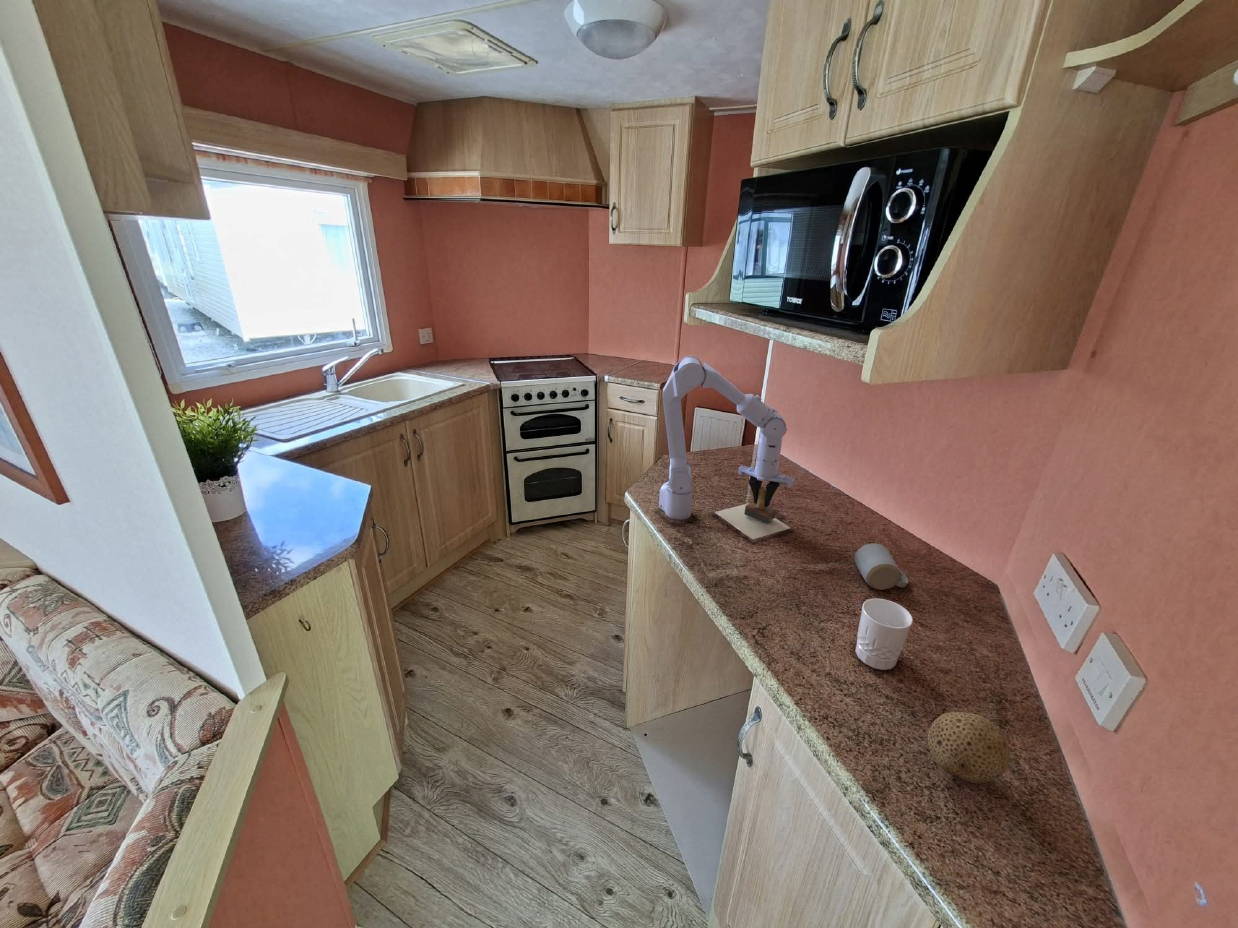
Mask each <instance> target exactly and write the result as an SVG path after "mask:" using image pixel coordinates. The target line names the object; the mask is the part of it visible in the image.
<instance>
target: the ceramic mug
mask: <svg viewBox="0 0 1238 928" xmlns="http://www.w3.org/2000/svg"><path fill="white" fill-rule="evenodd" d="M853 560H854V564H855V566H856V567H857V570H858V571H859V573H860V574H861V576H862V578H863V580H864V581H865V583H866V584H867V585H868V586H869V587H871V588H872V589H875V590H878V591H879V590H880V591H883V590H884V591H885V590H888V589H892V588H893V587H895V586H896V587H899V588H905V587H906V586H907V585H908V584H909V579H908V577H907V576H906V575H905V574H904V572H902V571H901V570H900V569H899V566H898V565H897V564H896V561H894V558H893V557H892V555H891V553H890V551H889V549H888V548H886V546H884V545H882V544H880V543H876V542H875V543H866V544H864V545H863V546H861V547H860V548H858V549H857V551H856V552H855V554H854V559H853Z"/></svg>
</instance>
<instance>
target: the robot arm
mask: <svg viewBox="0 0 1238 928" xmlns="http://www.w3.org/2000/svg"><path fill="white" fill-rule="evenodd" d="M700 386H701V388H702V389H711V388H713V389H714V390H715V391H717V392H718V393H719V394H721V395H722V396H723V397H725V398H726V399H727V400H728V401H731V402H732V403H734V404H735V405H736V412H737V413H738V414H739V415H740V416H742V417H743V418H744V419H746V420H747V421H748V422H749V423H751V424H752V425H754V426H755V427H756V428H759V429H761V430H760V432H759V433H760V434H759V439H758V443H757V444H758V445H757V453H756V460H755V467H754V466H753V467H752V466H746V465H740V466H739V467H738V471H737V475H739V476H743V475H744V476H747V477H749V479H748V485H749V488H750V490H751V492H752V497H753V502H754V504H757V498H758V492H759V487H762V485H763V482H766V481H767V482H768V483H767V484H765V487H766V499H765V507H769V506H770V505H771V502H772V500H773V496H774V494H775V493H776V492H777V490H778V489H779V487H780V485H782V486H785V487H786V488H789V489H791V488H793V487H794V484H795V478H793V477H790V476H788V475H785V474H783V473H780V472H779V463H780V458H781V451H782V446H783V437H784V436H785V435H786V433H787V431H788V428H787V424H786V421H785V420H784V418H783V417H782V415H781V414H780V413H779V411H778V410H776V409H775V408H774V406H773V407H770V406H769V405H767V404H766V403H765V402H763V400H762V397H761V396H760V395H759V394H756V395H754V394H753V393H743V392H742V391H741V390H740V389H739V388H737V387H736V386H735V385H734V384H733V383H731V382H730V381H729V380H728V379H727V378H726V377H724V376H723V375H722V374H721V373H720V372H719V371H717V370H716V369H715V368H713V367H712V366H711V365H709V364H708V363H706V362H704V361H702V362H701V360H700V358H698V357H696V356H694V355H686V356H684V357H683V358H681V360H679V361H678V362H677V363H676V364H674V366H673V369H672V371H671V373H670V375H669V377H668V379H667V380H666V382H665V385H664V387H663V388H662V395H661V397H662V404H663V405H662V406H663V412H664V413H663V414H664V420H665V429H666V430H665V431H666V437H667V445H668V453H669V466H668V481H666V482H664V483H663V484H662V485H661V487H660V489H659V501H658V502H659V503H658V508H659V509H660V510H662V512H664V514H665V516H666V517H668V518H670V519H672V520H681V521H682V520H687V519H689V518H690V517H691V516H692V508H693V494H694V493H693V492H694V486H693V485H694V481H693V476H692V469H693V468H692V466H691V464H690V462H689V461H688V455H687V448H686V438H685V429H684V418H683V410H682V398H684V397H685V396H686V395H687V394H688V393H689V392H690V391H692V390H694V389H696V388H698V387H700Z"/></svg>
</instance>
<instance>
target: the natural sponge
mask: <svg viewBox="0 0 1238 928" xmlns="http://www.w3.org/2000/svg"><path fill="white" fill-rule="evenodd" d="M927 746H928V749H929V752H930V755H931V757H932V758H933V760H934V761H935V763H936V764H937V766H939V767H940V768H941V769H942V770H944V771H945V772H947V773H948V774H950V775H952V776H956V777H958V778H960V779H961V780H964V781H965V782H968V783H971V784H986V783H989V782H992V781H995V780H997V779H999V778H1000V777H1002V776H1003V775H1004V774H1005V773H1006V772H1007V771H1008V767H1009V764H1010V758H1011V753H1010V746H1009V744H1008V741H1007V739H1006V737H1005V735H1004V734H1003V733H1002V731H1001V730H1000V729H999V728H998V727H997V726H996V725H995V724H994V723H993V722H992V721H991V720H990V719H987V718H985V717H983V716H981V715H979V714H976V713H971V712H966V711H965V712H964V711H950V712H945V713H942V714H941V715H940V716H938V717H937V718H935V719H934V720H933V722H932V723H931V724H930V727H929V729H928V732H927Z"/></svg>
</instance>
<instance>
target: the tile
mask: <svg viewBox="0 0 1238 928" xmlns="http://www.w3.org/2000/svg"><path fill="white" fill-rule="evenodd" d="M749 503H750V502H749ZM749 503H744V504H740V505H737V506H736V505H735V506H733V507H732V506H731V507H729V508H724V509H722V510H721V509H720V510H718V511H714V514H716V515H717V516H718V517H720V518H721V519H723V520H725V521H726V522H727V523H728V524H730V525H731V526H733V527H734V528H736V529H737V530H739V531H740V532H741V533H743V534H744V535H746V536H747V537H748V538H749V539H751V540H757V539H759V538H762V537H766V536H769V535H773V534H777V533H780V532H782V531H786V530H789V529H791V527H790V526H789V525H787V524H785V523H784V522H782V521H781V520H779V519H778V518H776V517H774V519H773V520H771V521H770V522H768V523H766V522H764V521H761V520H758V519H756V518H753V517H750V516H747V515H745V514H744V513H745V506H746V505H747V504H749Z"/></svg>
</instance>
